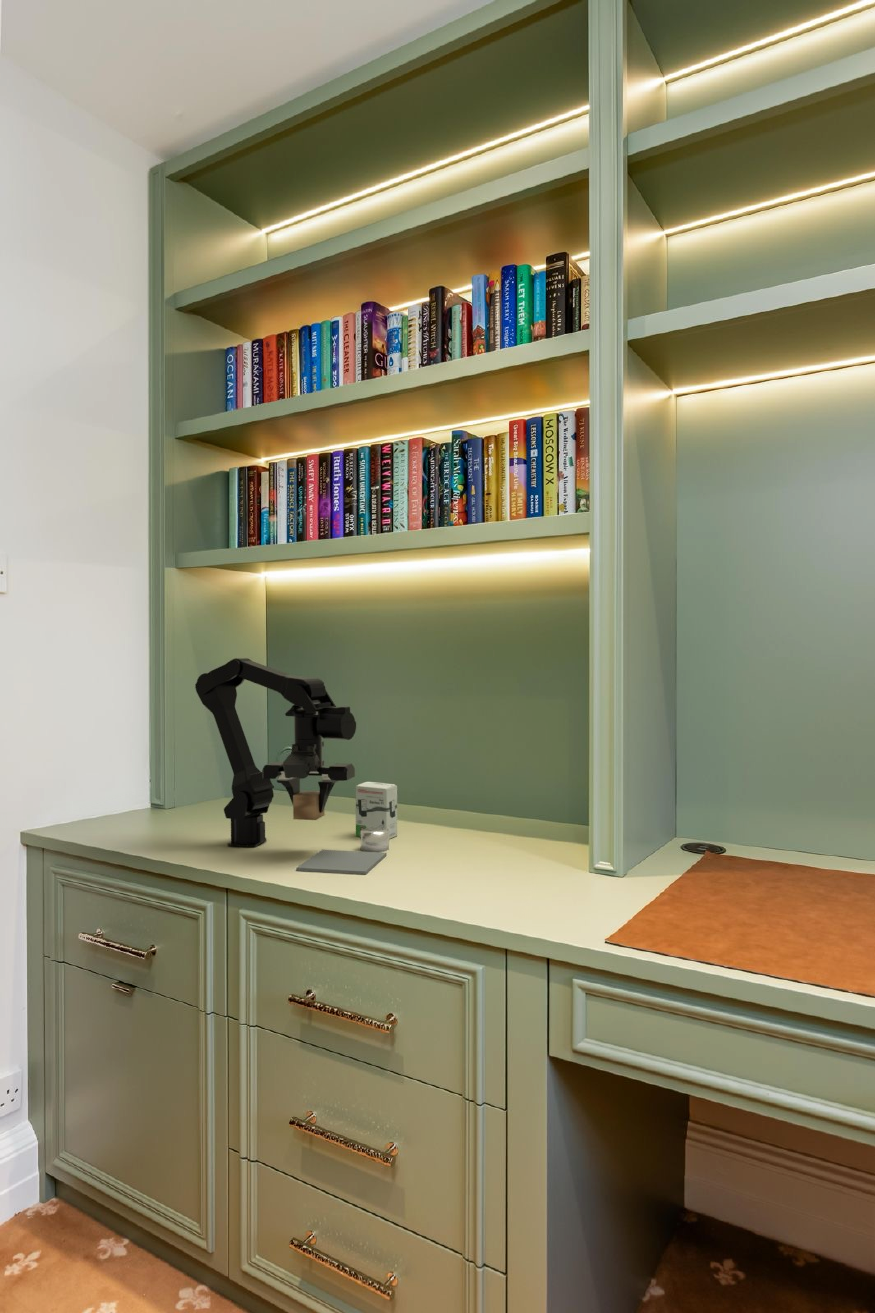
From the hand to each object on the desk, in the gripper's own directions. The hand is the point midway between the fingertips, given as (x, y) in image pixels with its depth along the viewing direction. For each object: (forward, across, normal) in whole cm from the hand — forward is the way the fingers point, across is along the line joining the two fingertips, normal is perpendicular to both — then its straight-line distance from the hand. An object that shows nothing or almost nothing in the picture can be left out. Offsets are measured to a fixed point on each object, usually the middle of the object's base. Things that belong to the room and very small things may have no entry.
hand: (309, 812), depth 168 cm
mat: (+8, +10, -7) cm, 15 cm away
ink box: (+9, +10, +16) cm, 21 cm away
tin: (+8, +13, +5) cm, 16 cm away
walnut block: (+1, 0, 0) cm, 1 cm away
